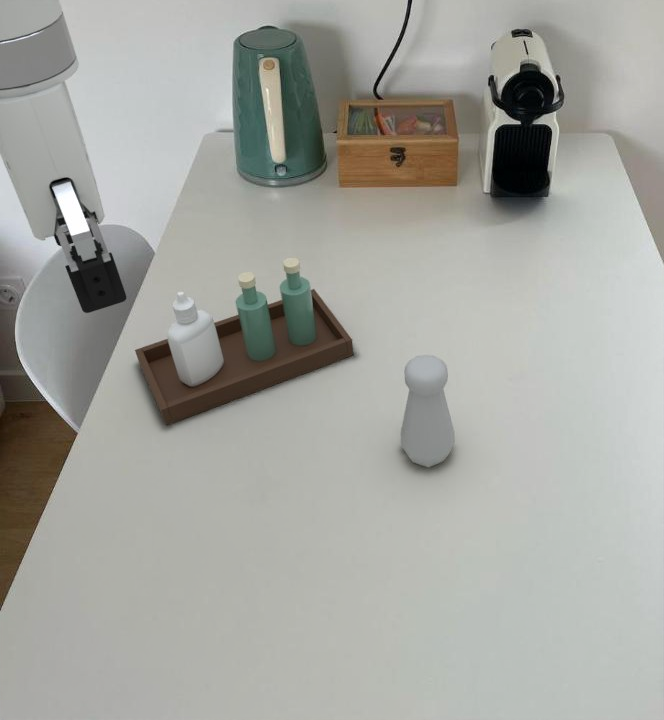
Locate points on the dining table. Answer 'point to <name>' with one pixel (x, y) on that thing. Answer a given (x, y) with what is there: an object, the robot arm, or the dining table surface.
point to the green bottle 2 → (297, 305)
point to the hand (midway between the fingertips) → (90, 270)
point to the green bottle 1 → (255, 319)
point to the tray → (242, 363)
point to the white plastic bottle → (194, 343)
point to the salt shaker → (426, 412)
